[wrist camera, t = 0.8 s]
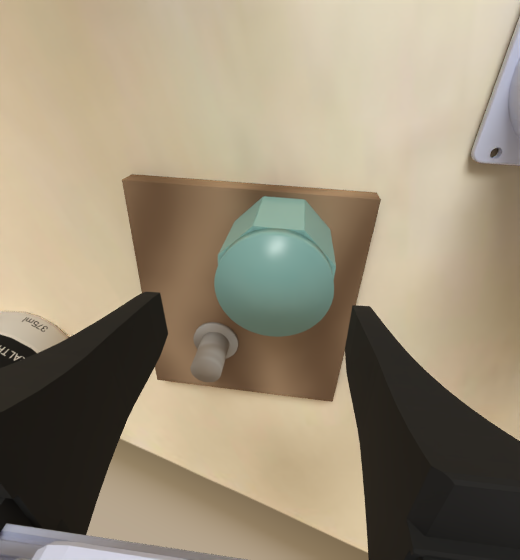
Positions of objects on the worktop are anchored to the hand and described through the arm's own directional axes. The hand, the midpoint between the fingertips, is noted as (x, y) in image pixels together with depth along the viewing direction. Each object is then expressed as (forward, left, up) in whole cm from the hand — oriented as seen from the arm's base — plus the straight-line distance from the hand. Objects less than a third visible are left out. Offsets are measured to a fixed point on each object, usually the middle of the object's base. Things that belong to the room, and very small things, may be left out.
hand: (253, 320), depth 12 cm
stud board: (+2, +5, -9) cm, 10 cm away
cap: (0, 0, -8) cm, 8 cm away
